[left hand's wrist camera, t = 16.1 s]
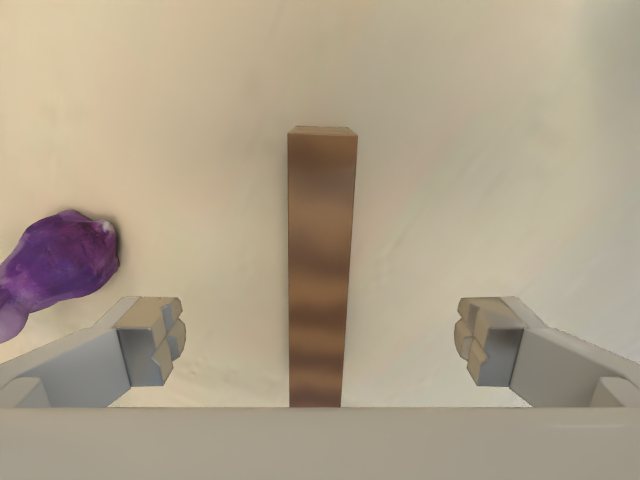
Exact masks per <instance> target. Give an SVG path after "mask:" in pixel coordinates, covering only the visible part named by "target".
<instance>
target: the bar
mask: <svg viewBox="0 0 640 480" xmlns="http://www.w3.org/2000/svg"><path fill="white" fill-rule="evenodd" d="M357 143H358V135H357V134H356V133H354V132H353V131H352V130H351V129H349V128H343V127H308V126H295V127H294V128H293V129H292V130H291V131H290V132H289V133H288V267H289V406H290V407H341V392H342V377H343V361H344V346H345V330H346V314H347V299H348V283H349V267H350V252H351V236H352V221H353V205H354V189H355V174H356V158H357Z"/></svg>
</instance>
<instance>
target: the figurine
mask: <svg viewBox="0 0 640 480" xmlns="http://www.w3.org/2000/svg"><path fill="white" fill-rule="evenodd" d="M118 266H119V264H118V258H117V257H116V232H115V229H114V227H113V226H112V224H111V223H110V222H109V221H107V220H104V219H101V220H97V221H92V220H90V219H89V218H85V217H84V216H82V215H81V214H79V213H78V212H76V211H73V210H67V211H63V212H60V213H58V214H56V215H54V216H50V217H47V218H44V219H41V220H39V221H37V222H35V223H34V224H32V225H31V226H29V227H28V228H27V229H26V230H25V232H24V233H23V235H22V237H21V239H20V240H19V242H18V245H17V246H16V248H15V249H14V251H13V252H12V253H11V254H10V255H9V256H8V257H7V258H6V260H5V261H4V262H3V263H2V264H1V265H0V344H1V343H3V342H6V341H8V340H10V339H12V338H14V337H15V336H17V335H18V334H19V333H20V332H21V330H22V329H23V328H24V326H25V324H26V322H27V319H28V315H29V313H32V312H36V311H39V310H42V309H45V308H47V307H50V306H52V305H54V304H55V303H57V302H58V301H62V300H67V299H71V298H78V297H83V296H86V295H89V294H91V293H93V292H95V291H97V290H98V289H100V288H101V287H102V286H103V285H104V284H105V283H106V282H107V281H108V280H109V279H110V278H111V276H112V275H113V274H114V273H115V272H116V270H117V269H118Z"/></svg>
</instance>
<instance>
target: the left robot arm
mask: <svg viewBox="0 0 640 480" xmlns="http://www.w3.org/2000/svg"><path fill="white" fill-rule="evenodd" d="M181 313H182V306H181V301H180V300H179V299H178V298H176V297H123V298H121V299H120V300H119V301H118V302H117V303H116V304H115V305H114V306H113V307H112V308H111V309H110V310H109V311H108V312H107V313H106V314H105V315H103V316H102V317H101V318H100V319H99V320H98V321H97V322H96V323H95V324H94V325H93V326H92V327H91V328H90V329H82V330H80V331H77V332H75V333H73V334H70V335H68V336H66V337H63V338H61V339H59V340H56V341H54V342H51V343H49V344H47V345H44V346H42V347H40V348H37V349H35V350H33V351H30V352H28V353H26V354H23V355H21V356H19V357H16V358H14V359H12V360H9V361H7V362H5V363H2V364H0V480H640V364H637V363H635V362H633V361H630V360H628V359H626V358H623V357H621V356H619V355H616V354H614V353H612V352H609V351H607V350H605V349H602V348H600V347H598V346H595V345H593V344H591V343H588V342H586V341H584V340H581V339H579V338H577V337H574V336H572V335H570V334H567V333H565V332H563V331H560V330H558V329H550V328H549V327H548V326H547V325H546V324H545V323H544V322H543V321H542V320H541V319H540V318H539V317H538V316H537V315H536V314H534V313H533V312H532V311H531V310H530V309H529V308H528V307H527V306H526V305H525V304H524V303H523V302H522V301H521V300H520V299H519V298H517V297H514V296H513V297H478V298H461V300H460V302H459V305H458V313H459V314H460V316H461V317H462V318H461V319H460V320H459V321H458V322H457V323H456V324H455V330H454V340H455V346H456V349H457V351H458V353H459V355H460V357H462V358H463V359H465V360H466V361H468V363H467V370H468V371H469V373H470V375H471V377H472V378H473V380H474V382H475V384H476V385H477V386H498V387H509V389H511V390H512V391H513V392H515V393H516V394H517V395H519V396H520V397H521V398H522V399H524V400H525V401H526V402H528V403H529V404H530V405H532V406H533V407H107V406H109V405H110V404H111V403H112V402H114V401H115V400H116V399H118V398H119V397H120V396H122V395H123V394H124V393H125V392H127V391H128V390H129V389H131V387H142V386H163V385H164V384H165V382H166V380H167V378H168V377H169V375H170V373H171V371H172V370H173V363H172V361H174V360H175V359H177V358H178V357H180V355H181V353H182V351H183V349H184V345H185V341H186V329H185V324H184V323H183V322H182V321H181V320H180V319H179V318H178V317H179V316H180V314H181Z"/></svg>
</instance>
